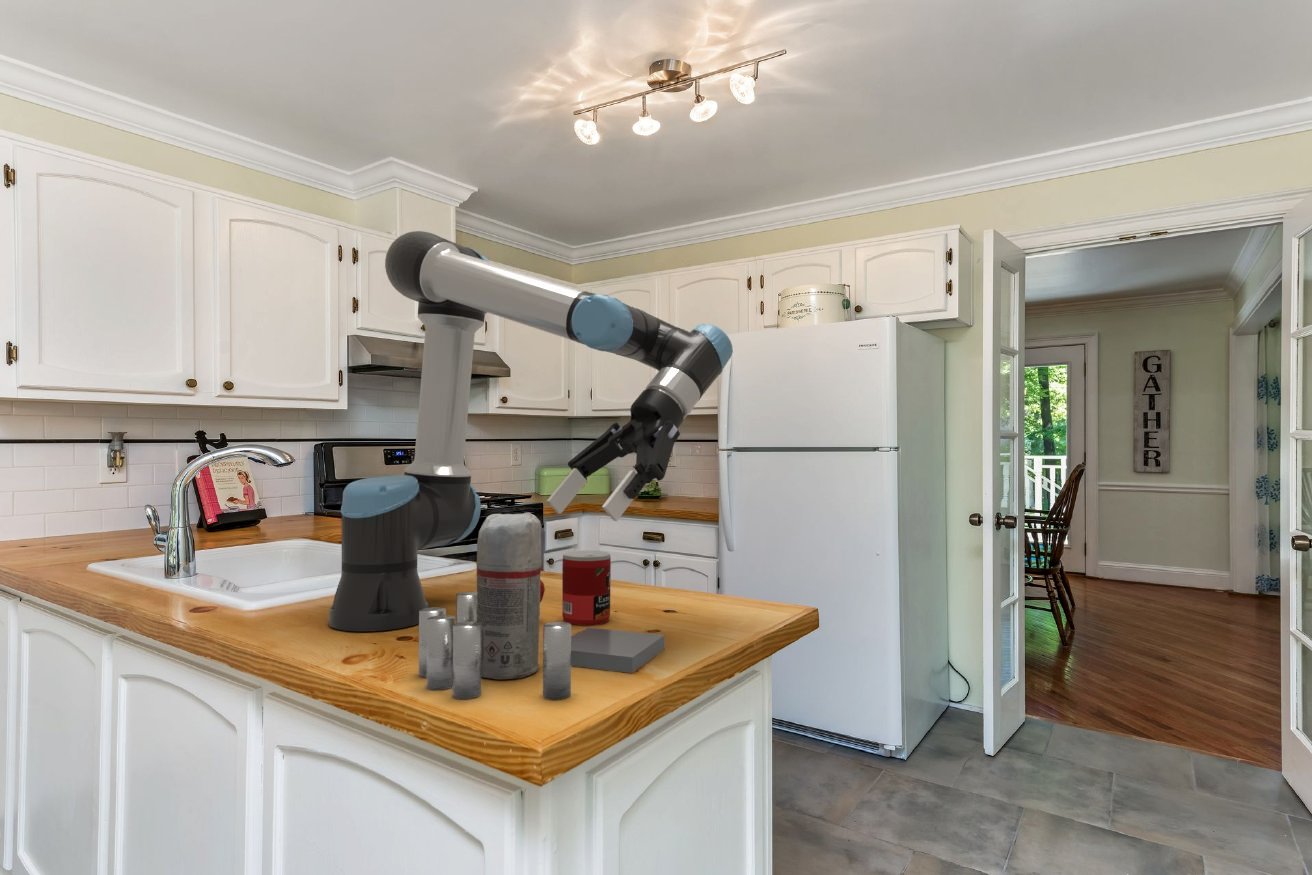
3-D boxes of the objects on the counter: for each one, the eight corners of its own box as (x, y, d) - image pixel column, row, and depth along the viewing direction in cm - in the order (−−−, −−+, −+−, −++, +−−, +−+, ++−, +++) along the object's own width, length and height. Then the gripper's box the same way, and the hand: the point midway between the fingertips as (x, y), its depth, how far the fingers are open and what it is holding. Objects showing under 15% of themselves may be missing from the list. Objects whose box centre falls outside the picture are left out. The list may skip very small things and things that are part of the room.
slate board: (548, 663, 98) (548, 647, 98) (587, 641, 109) (587, 627, 109) (632, 673, 94) (632, 657, 94) (664, 649, 105) (664, 635, 105)
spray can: (554, 671, 95) (555, 513, 95) (501, 686, 89) (503, 518, 89) (513, 658, 100) (515, 509, 101) (461, 671, 94) (462, 513, 95)
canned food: (603, 627, 118) (603, 557, 118) (555, 624, 120) (555, 556, 120) (615, 616, 126) (616, 551, 126) (570, 614, 127) (570, 549, 127)
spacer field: (373, 686, 88) (374, 618, 88) (464, 647, 105) (465, 591, 106) (547, 711, 80) (547, 637, 80) (615, 665, 97) (615, 603, 97)
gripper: (736, 420, 103) (653, 536, 94) (627, 425, 123) (548, 521, 113) (708, 380, 100) (619, 496, 90) (601, 391, 119) (517, 487, 110)
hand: (579, 510), depth 102 cm, fingers open, 13 cm apart
